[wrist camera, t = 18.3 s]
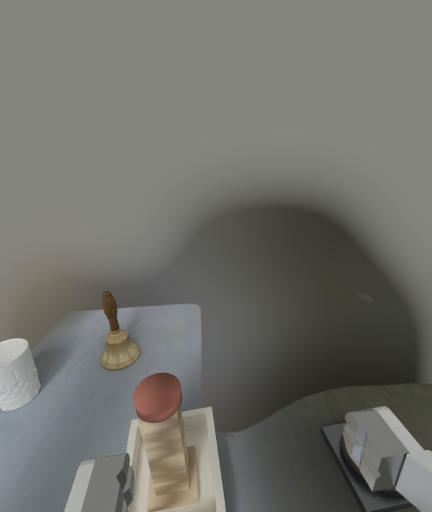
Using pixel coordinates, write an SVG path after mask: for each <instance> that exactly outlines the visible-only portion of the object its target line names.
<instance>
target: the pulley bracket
mask: <svg viewBox="0 0 432 512" xmlns="http://www.w3.org/2000/svg"><path fill="white" fill-rule="evenodd" d="M346 424H347V422H346V423H341V424H335V425H330V426H324V427H322V429H321V432H322V434H323V436H324V438H325V440H326V442H327V444H328V446H329V447H330V449H331V451H332V453H333V455H334V457H335V459H336V461H337V463H338V465H339V467H340V469H341V470H342V472H343V474H344V476H345V478H346V480H347V482H348V484H349V486H350V488H351V490H352V491H353V493H354V495H355V497H356V499H357V501H358V503H359V505H360V507H361V509H362V511H363V512H390V511H394V510H398V509H403V508H407V507H411V506H414V505H413V504H412V503H411V502H409V501H408V500H407V499H406V498H405V497H404V496H403V495H401V494H400V493H399V492H398V491H397V490H396V489H395V488H396V487H395V488H389V489H384V490H378V491H373V492H372V490H371V489H370V487H369V485H368V483H367V482H366V480H365V478H364V477H363V475H362V473H361V472H360V468H359V461H357V460H356V459H355V458H353V457H352V456H351V454H350V453H349V451H348V449H347V447H346V444H345V442H344V438H343V427H344V426H345V425H346Z"/></svg>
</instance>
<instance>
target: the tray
mask: <svg viewBox="0 0 432 512" xmlns="http://www.w3.org/2000/svg"><path fill="white" fill-rule="evenodd" d="M182 417H183V423H184V430H185V437H186V443H187V447H189V446H195V450H196V465H197V482H198V498H199V503H194V504H189V505H185V506H180V507H175V508H170V509H165V510H160V511H156V512H226V508H225V500H224V493H223V486H222V478H221V471H220V464H219V456H218V449H217V442H216V435H215V427H214V420H213V413H212V407H206V408H200V409H194V410H188V411H182ZM138 420H139V419H134V420H131V426H130V432H129V437H128V443H127V449H126V453H128V454H129V457H130V463H129V465H130V466H132V467H133V471H134V494H133V500H132V502H131V503H130V505H129V507H128V511H129V512H148V511H147V501H148V489H149V478H150V468H149V464H148V460H147V456H146V452H145V448H144V443H143V439H142V435H141V431H140V427H139V423H138Z"/></svg>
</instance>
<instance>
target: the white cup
mask: <svg viewBox="0 0 432 512" xmlns="http://www.w3.org/2000/svg"><path fill="white" fill-rule="evenodd" d="M40 388H41V385H40V382H39V379H38V372H37V369H36V365H35V362H34V359H33V356H32V353H31V350H30V347H29V344H28V342H27V340H25V339H21V338H16V339H10V340H6V341H3V342H0V410H2V411H13V410H16V409H18V408H20V407H23V406H24V405H26V404H27V403H29V402H30V401H32V400H33V399H34V398H35V396H36V395H37V394H38V393H39V391H40Z"/></svg>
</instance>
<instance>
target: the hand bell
mask: <svg viewBox="0 0 432 512" xmlns="http://www.w3.org/2000/svg"><path fill="white" fill-rule="evenodd" d="M102 304H103V310H104V313H105V315H106V316H107V318H108V319H109V323H110V328H111V333H109V334H108V335H107V337H106V350H105V352H104V353H103V355H102V357H101V365H102V366H103V367H104V368H106V369H109V370H118V369H122V368H125V367H127V366H129V365H131V364H132V363H133V362H135V361H136V360H137V359H138V357H139V355H140V347H139V346H138V345H137V344H136V343H134V342H132V341H131V340H130V338H129V336H128V333H127V332H126V331H125V330H120V329H119V325H118V321H117V304H116V301H115V299H114V297H113V296H112V294H111V293H110V291H106V292H104V293H103V302H102Z"/></svg>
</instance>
